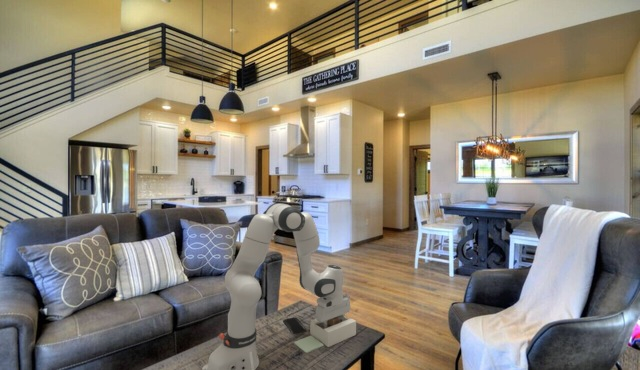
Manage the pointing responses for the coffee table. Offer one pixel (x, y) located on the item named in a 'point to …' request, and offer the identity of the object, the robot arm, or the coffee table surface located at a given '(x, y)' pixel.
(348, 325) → the slotted box
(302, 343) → the sage mat
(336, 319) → the walnut block
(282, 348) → the coffee table surface
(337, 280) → the robot arm
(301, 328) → the phone
